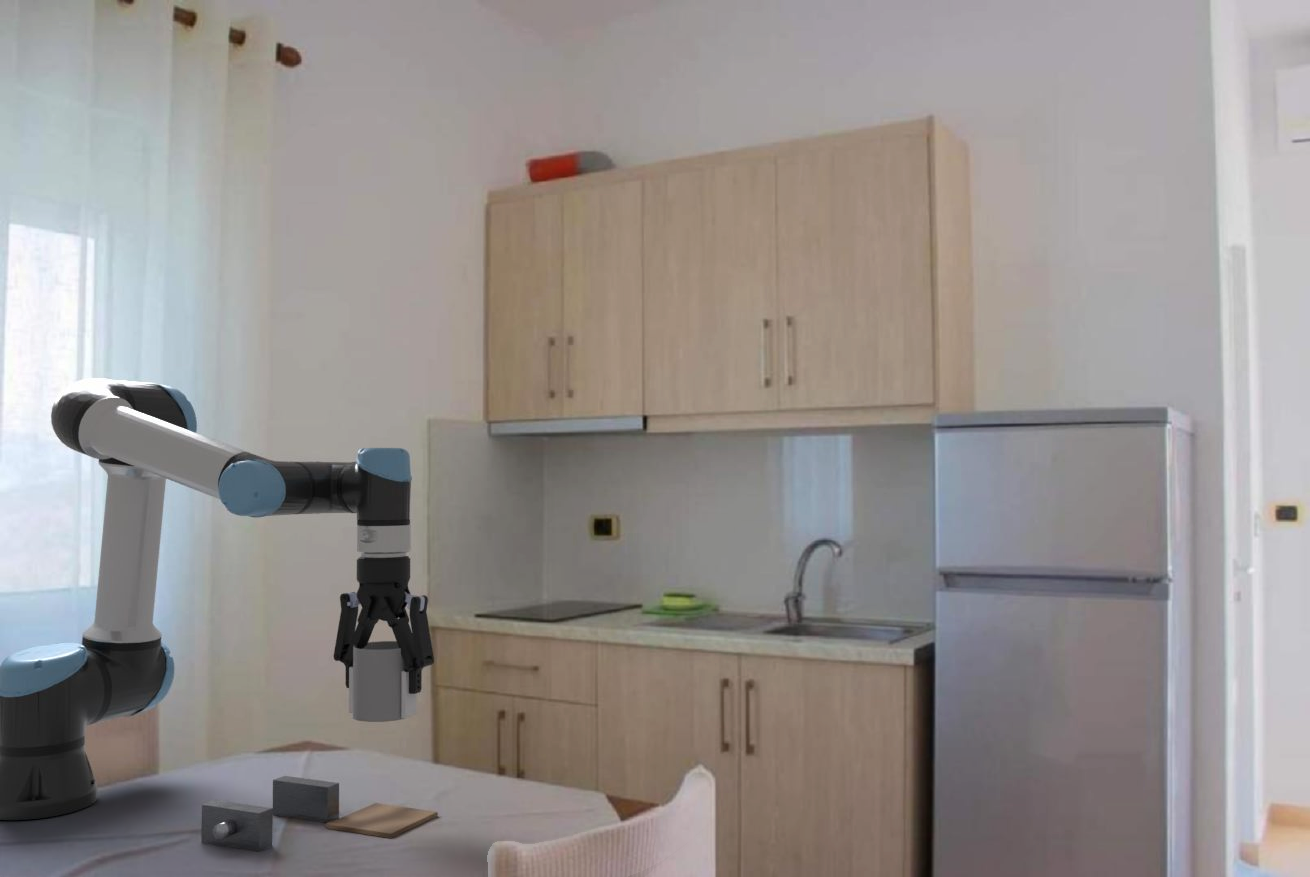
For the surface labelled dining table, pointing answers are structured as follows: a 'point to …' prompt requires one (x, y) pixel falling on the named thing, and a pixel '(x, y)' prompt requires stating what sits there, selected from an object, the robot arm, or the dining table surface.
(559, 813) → the dining table surface
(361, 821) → the board
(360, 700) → the cup
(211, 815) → the vise jaws
